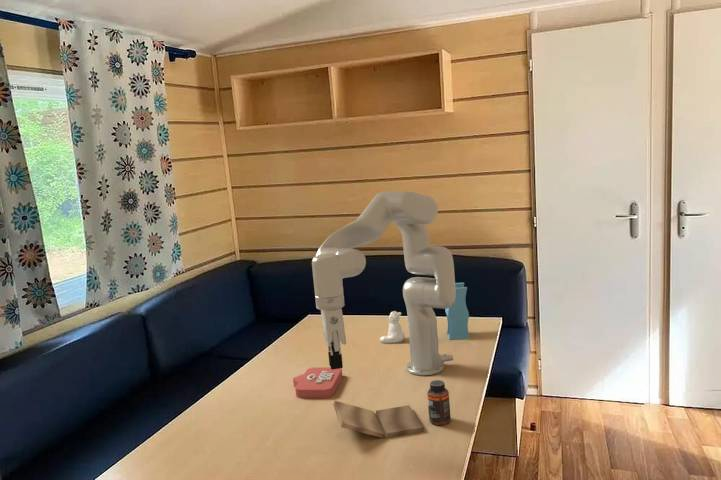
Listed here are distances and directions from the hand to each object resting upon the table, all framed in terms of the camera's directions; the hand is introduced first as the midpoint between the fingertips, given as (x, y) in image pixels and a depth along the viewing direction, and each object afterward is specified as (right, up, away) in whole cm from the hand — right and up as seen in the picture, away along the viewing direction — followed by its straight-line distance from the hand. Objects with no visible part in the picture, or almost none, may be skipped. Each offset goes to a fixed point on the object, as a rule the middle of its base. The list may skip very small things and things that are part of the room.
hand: (336, 366), depth 163 cm
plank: (+6, -16, +4) cm, 17 cm away
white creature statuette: (+20, -5, +72) cm, 75 cm away
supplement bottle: (+29, -16, +5) cm, 33 cm away
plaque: (-8, -14, +36) cm, 39 cm away
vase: (+44, -3, +71) cm, 84 cm away
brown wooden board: (+17, -17, +6) cm, 25 cm away
